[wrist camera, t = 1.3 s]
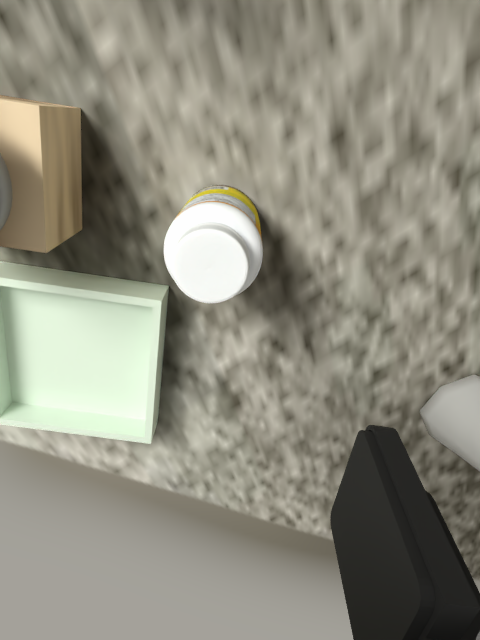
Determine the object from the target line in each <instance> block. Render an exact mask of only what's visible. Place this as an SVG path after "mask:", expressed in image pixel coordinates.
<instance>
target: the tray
mask: <svg viewBox="0 0 480 640" xmlns="http://www.w3.org/2000/svg"><path fill="white" fill-rule="evenodd" d="M168 291H169V286H167V285H160V284H154V283H147V282H140V281H133V280H126V279H119V278H112V277H106V276H99V275H92V274H85V273H78V272H71V271H64V270H58V269H51V268H44V267H37V266H30V265H23V264H16V263H10V262H3V261H0V424H1V425H9V426H17V427H24V428H32V429H40V430H48V431H55V432H63V433H71V434H79V435H86V436H94V437H102V438H110V439H117V440H125V441H133V442H141V443H148V444H151V442H152V439H153V436H154V433H155V429H156V426H157V423H158V416H159V403H160V391H161V378H162V366H163V353H164V341H165V329H166V316H167V304H168Z"/></svg>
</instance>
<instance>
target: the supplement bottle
mask: <svg viewBox="0 0 480 640" xmlns="http://www.w3.org/2000/svg"><path fill="white" fill-rule="evenodd" d="M262 258H263V245H262V236H261V229H260V221H259V215H258V212H257V209H256V207H255V206H254V204H253V202H252V201H251V200H250V198H249V197H248V196H247V195H246V194H244V193H243V192H242V191H240V190H238V189H236V188H234V187H231V186H227V185H212V186H208V187H206V188H203V189H201V190H200V191H198V192H197V193H196V194H194V195H193V196H192V197H191V198H190V199H189V201H188V202H187V203H186V205H185V206H184V207H183V209H182V210H181V211H180V212H179V214H178V215H177V216H176V218H175V219H174V221H173V222H172V224H171V226H170V227H169V229H168V232H167V234H166V237H165V241H164V259H165V263H166V266H167V269H168V271H169V273H170V275H171V277H172V278H173V279H174V281H175V282H176V284H177V285H178V287H179V288H180V289H181V290H182V291H183V292H184V293H185V294H186V295H187V296H189V297H190V298H192V299H194V300H197V301H199V302H203V303H219V302H223V301H226V300H228V299H230V298H232V297H234V296H236V295H238V294H239V293H241V292H243V291H244V290H245V289H246V288H248V287H249V286H250V285H251V284H252V282H253V281H254V280H255V278H256V276H257V275H258V273H259V270H260V267H261V264H262Z"/></svg>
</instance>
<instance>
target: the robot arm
mask: <svg viewBox="0 0 480 640" xmlns="http://www.w3.org/2000/svg"><path fill="white" fill-rule="evenodd" d="M331 529H332V534H333V539H334V543H335V549H336V554H337V559H338V564H339V569H340V574H341V579H342V584H343V589H344V594H345V599H346V604H347V609H348V614H349V619H350V624H351V629H352V633H353V639H354V640H480V593H479V591H478V589H477V587H476V585H475V583H474V580H473V578H472V576H471V574H470V572H469V570H468V568H467V566H466V564H465V562H464V560H463V558H462V556H461V554H460V552H459V550H458V548H457V546H456V544H455V541H454V539H453V537H452V535H451V533H450V531H449V529H448V527H447V525H446V523H445V521H444V519H443V517H442V515H441V513H440V511H439V509H438V507H437V504H436V502H435V501H434V499H433V497H432V496H431V495H430V494H429V493H428V492H427V491H425V489H424V487H423V485H422V483H421V481H420V479H419V477H418V475H417V472H416V470H415V468H414V466H413V464H412V462H411V460H410V458H409V456H408V454H407V451H406V449H405V447H404V445H403V443H402V441H401V439H400V437H399V435H398V432H397V431H396V429H394V428H389V427H382V426H374V425H369V426H368V427H367V428H366V430H365V431H364V430H360V431H359V432H358V435H357V437H356V440H355V443H354V446H353V449H352V452H351V455H350V458H349V461H348V464H347V467H346V470H345V472H344V475H343V478H342V481H341V484H340V487H339V490H338V493H337V496H336V499H335V502H334V505H333V508H332V511H331Z"/></svg>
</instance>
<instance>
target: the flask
mask: <svg viewBox="0 0 480 640" xmlns="http://www.w3.org/2000/svg"><path fill="white" fill-rule="evenodd" d="M420 413H421V416H422V418H423V421H424V423H425V426H426V428H427V431H428V433H429V435H431V436H432V437H433V438H435V439H436V440H437V441H439V442H440V443H442V444H443V445H445V446H446V447H447V448H449V449H450V450H452V451H453V452H455V453H456V454H457V455H459V456H460V457H461V458H463V459H464V460H465V461H466V462H468V463H469V464H470V465H472V466H473V467H474V468H476V469H477V470H478V471H480V377H479V376H477V375H475V374H473V375H471V376H468V377H465V378H462V379H460V380H457V381H454V382H452V383H449V384H446V385H443V386H441V387H439V389H438V390H437V391H436V392H435V393H434V395H433V396H432V397H431V398H430V399H429V400H428V402H427V403H426V404H425V405H424V406H423V407H422V409H421V410H420Z"/></svg>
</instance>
